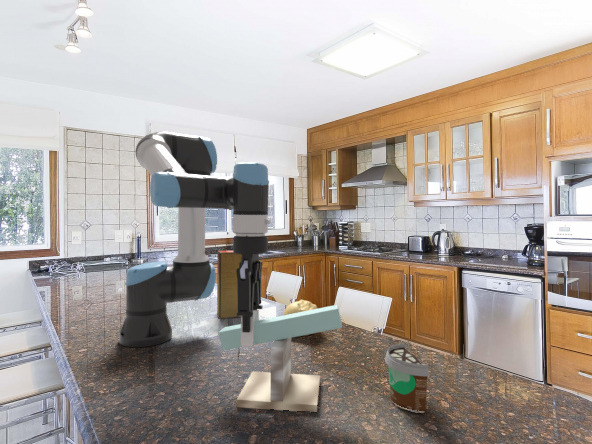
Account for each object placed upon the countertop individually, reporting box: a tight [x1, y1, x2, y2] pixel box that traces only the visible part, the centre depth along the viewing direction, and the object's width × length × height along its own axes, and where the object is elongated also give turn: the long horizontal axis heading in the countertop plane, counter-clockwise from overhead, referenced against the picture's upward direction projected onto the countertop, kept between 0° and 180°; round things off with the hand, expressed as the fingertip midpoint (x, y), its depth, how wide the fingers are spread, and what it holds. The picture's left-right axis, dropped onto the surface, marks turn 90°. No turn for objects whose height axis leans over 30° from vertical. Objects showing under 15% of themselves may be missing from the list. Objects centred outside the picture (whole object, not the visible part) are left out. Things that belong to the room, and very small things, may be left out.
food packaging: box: [216, 250, 242, 320], centre depth 137 cm, size 13×9×25 cm
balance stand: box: [236, 338, 321, 413], centre depth 75 cm, size 16×13×12 cm
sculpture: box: [283, 299, 318, 336], centre depth 116 cm, size 12×12×11 cm
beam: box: [218, 304, 343, 352], centre depth 75 cm, size 26×4×4 cm, turn 83°
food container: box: [384, 343, 430, 412], centre depth 72 cm, size 12×6×10 cm, turn 5°
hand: (250, 342), depth 76 cm, fingers open, 4 cm apart
